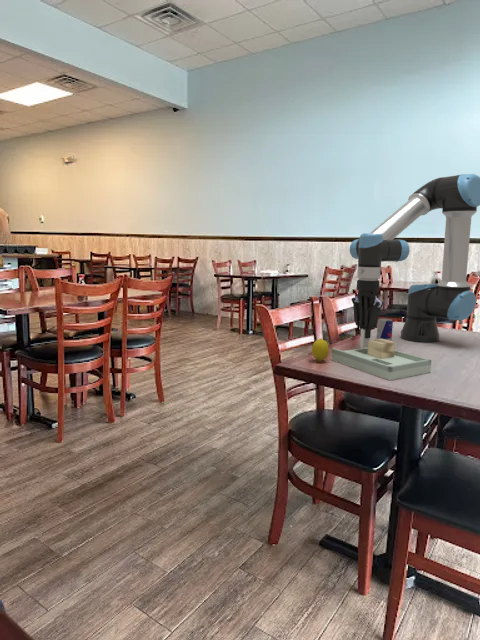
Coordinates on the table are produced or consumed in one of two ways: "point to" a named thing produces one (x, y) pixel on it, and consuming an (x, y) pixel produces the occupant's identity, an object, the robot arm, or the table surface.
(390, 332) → the energy drink
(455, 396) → the table surface
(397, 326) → the table surface
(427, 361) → the sage tray
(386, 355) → the maple block
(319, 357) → the lemon
